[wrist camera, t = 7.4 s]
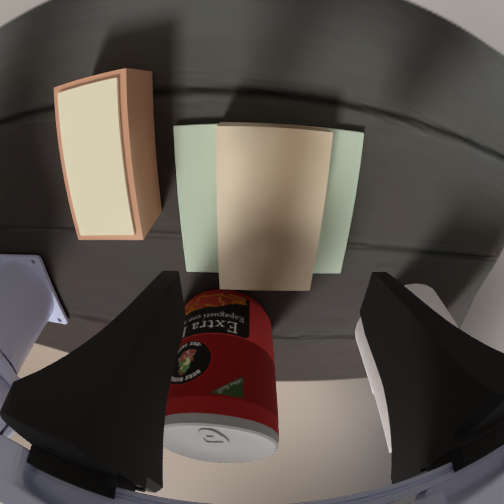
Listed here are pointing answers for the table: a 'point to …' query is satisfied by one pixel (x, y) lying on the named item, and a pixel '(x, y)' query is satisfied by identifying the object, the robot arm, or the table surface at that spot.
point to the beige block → (270, 203)
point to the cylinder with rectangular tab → (373, 375)
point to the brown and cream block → (109, 154)
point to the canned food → (223, 382)
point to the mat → (205, 197)
